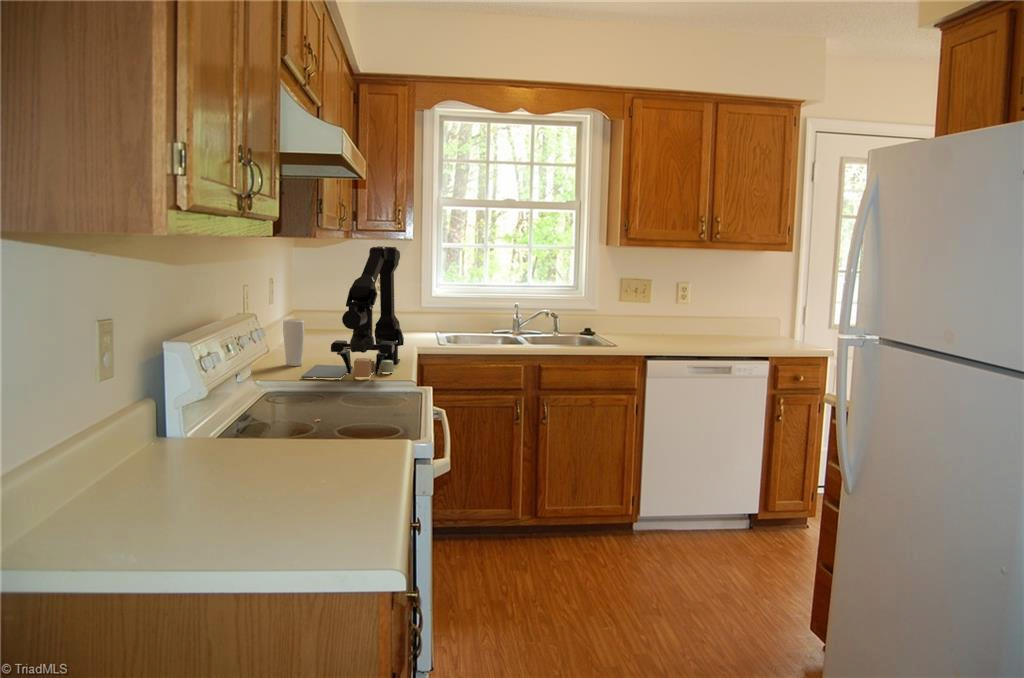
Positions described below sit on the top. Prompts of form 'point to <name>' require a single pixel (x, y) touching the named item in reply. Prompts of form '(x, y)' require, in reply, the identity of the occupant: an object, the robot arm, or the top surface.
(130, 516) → the top surface
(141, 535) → the top surface
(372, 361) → the walnut block
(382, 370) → the sage cylinder
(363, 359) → the terracotta block
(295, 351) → the drinking glass
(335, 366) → the slate mat
